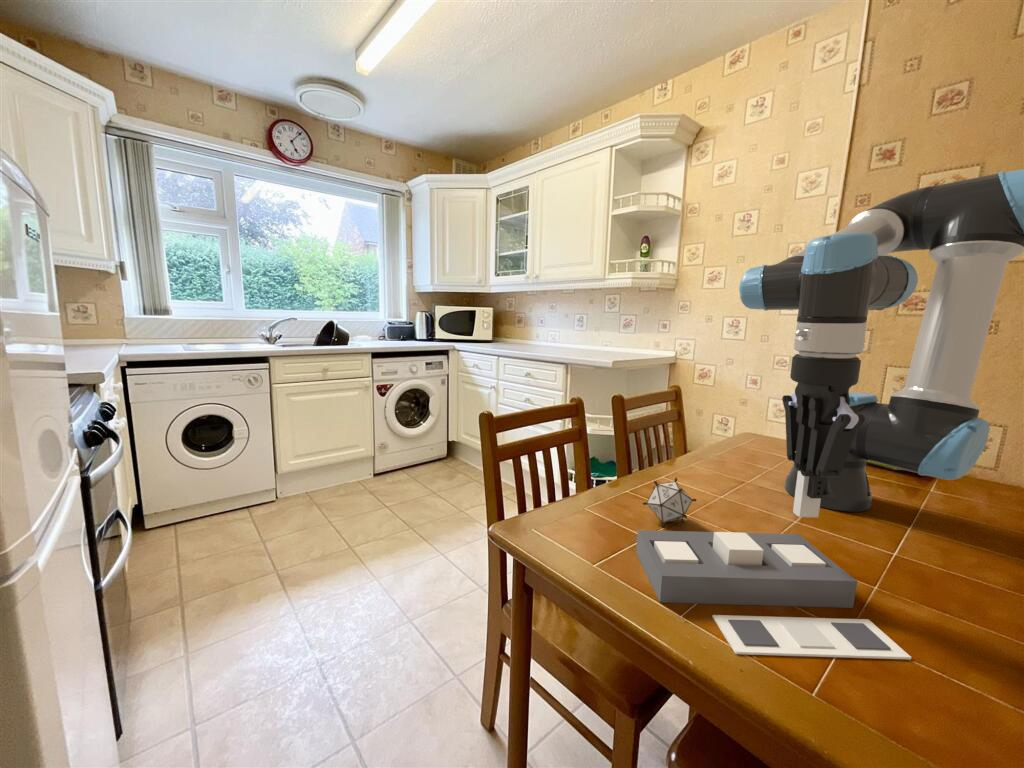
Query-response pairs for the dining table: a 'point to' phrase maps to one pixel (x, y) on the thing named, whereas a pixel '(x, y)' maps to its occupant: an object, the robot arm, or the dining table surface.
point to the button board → (743, 574)
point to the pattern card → (807, 637)
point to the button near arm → (797, 555)
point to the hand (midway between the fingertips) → (805, 514)
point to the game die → (669, 502)
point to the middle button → (737, 549)
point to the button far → (675, 552)
